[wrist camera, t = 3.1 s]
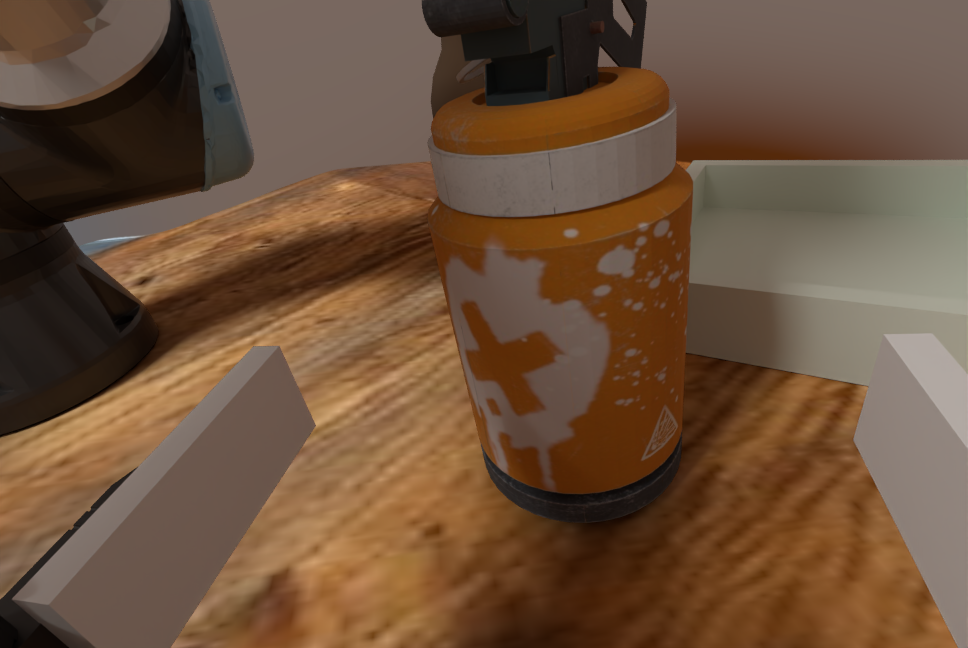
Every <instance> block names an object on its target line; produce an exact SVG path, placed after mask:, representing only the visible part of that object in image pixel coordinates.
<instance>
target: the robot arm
mask: <svg viewBox="0 0 968 648" xmlns="http://www.w3.org/2000/svg"><path fill="white" fill-rule="evenodd" d="M253 162H254V152H253V147H252V143H251V139H250V135H249V131H248V128H247V123H246V120H245V116H244V113H243V109H242V105H241V102H240V98H239V95H238V91H237V88H236V84H235V81H234V77H233V74H232V71H231V67H230V64H229V61H228V58H227V54H226V51H225V48H224V44H223V41H222V38H221V35H220V31H219V28H218V25H217V22H216V19H215V16H214V13H213V10H212V7H211V4H210V2H209V0H0V435H2V434H5V433H8V432H12V431H15V430H18V429H21V428H23V427H26V426H29V425H32V424H34V423H37V422H39V421H42V420H44V419H46V418H49V417H51V416H53V415H55V414H58V413H60V412H62V411H64V410H66V409H68V408H70V407H72V406H74V405H76V404H78V403H80V402H82V401H83V400H85V399H87V398H89V397H91V396H92V395H94V394H96V393H97V392H99V391H101V390H102V389H104V388H105V387H107V386H108V385H110V384H111V383H113V382H114V381H116V380H117V379H119V378H120V377H121V376H123V375H124V374H125V373H127V372H128V371H129V370H130V369H131V368H133V367H134V366H135V365H136V364H137V363H138V362H139V361H140V360H141V359H142V358H143V357H144V356H145V355H146V354H147V353H148V352H149V350H150V349H151V348H152V346H153V345H154V343H155V341H156V339H157V336H158V327H157V325H156V324H155V322H154V320H153V319H152V317H151V315H150V314H149V312H148V310H147V309H146V307H145V306H144V305H143V303H142V302H141V301H140V300H139V299H137V298H136V297H135V296H134V295H133V294H131V293H130V292H129V291H128V290H127V289H125V288H124V287H123V286H122V285H121V284H120V283H118V282H117V281H116V280H115V279H114V278H112V277H111V276H110V275H109V274H108V273H106V272H105V271H104V270H103V269H102V268H101V267H99V266H98V265H97V264H96V263H95V262H93V261H92V260H91V259H90V258H89V257H87V256H86V255H85V254H84V253H83V252H82V251H81V249H80V248H79V247H78V245H77V244H76V243H75V241H74V240H73V238H72V236H71V235H70V233H69V232H68V230H67V229H66V227H65V225H64V224H63V223H64V222H69V221H73V220H75V219H80V218H84V217H88V216H92V215H96V214H101V213H105V212H110V211H114V210H118V209H123V208H127V207H132V206H136V205H141V204H145V203H149V202H154V201H158V200H163V199H167V198H171V197H176V196H180V195H185V194H189V193H193V192H198V191H201V192H204V191H208V190H209V189H211V187H212V186H215V185H219V184H222V183H225V182H228V181H232V180H235V179H239V178H241V177H243V176H245V175H246V174H247V173H248V172H249V171H250V170H251V168H252V166H253ZM315 426H316V425H315V423H314V420H313V418H312V416H311V414H310V412H309V410H308V407H307V405H306V403H305V401H304V399H303V397H302V394H301V392H300V390H299V388H298V386H297V384H296V381H295V379H294V377H293V375H292V373H291V371H290V368H289V366H288V364H287V362H286V360H285V357H284V355H283V353H282V351H281V349H280V347H279V346H253V347H252V349H251V350H250V351H249V352H248V353H247V354H246V355H245V356H244V357H243V358H242V359H241V360H240V361H239V362H238V363H237V364H236V365H235V366H234V367H233V368H232V369H231V370H230V372H229V373H228V374H227V375H226V376H225V377H224V378H223V379H222V380H221V381H220V382H219V383H218V384H217V385H216V386H215V387H214V388H213V389H212V390H211V391H210V392H209V393H208V395H207V396H206V397H205V398H204V399H203V400H202V401H201V402H200V403H199V404H198V405H197V406H196V407H195V408H194V409H193V410H192V411H191V412H190V413H189V414H188V415H187V416H186V417H185V419H184V420H183V421H182V422H181V423H180V424H179V425H178V426H177V427H176V428H175V429H174V430H173V431H172V432H171V433H170V434H169V435H168V436H167V437H166V438H165V439H164V440H163V442H162V443H161V444H160V445H159V446H158V447H157V448H156V449H155V450H154V451H153V452H152V453H151V454H150V455H149V456H148V457H147V458H146V459H145V460H144V461H143V462H142V463H141V465H140V466H139V467H137V468H135V469H134V470H133V471H131V472H130V473H128V474H127V475H126V476H124V477H123V478H121V479H120V480H119V481H117V482H116V483H114V484H113V485H112V486H111V487H110V488H109V489H108V490H107V491H106V492H105V493H104V494H103V495H102V496H101V497H100V498H99V499H98V500H97V501H96V502H95V503H94V504H93V505H92V506H91V510H90V511H89V512H88V511H86V512H85V514H84V515H83V516H82V517H81V518H80V519H79V520H78V521H77V522H76V523H75V524H74V525H73V526H74V528H73V529H72V530H68V531H67V532H66V533H65V534H64V535H63V536H62V537H61V538H60V539H59V540H58V541H57V542H56V543H55V544H54V545H53V546H52V547H51V548H50V549H49V550H48V551H47V553H46V554H45V555H44V556H43V557H42V558H41V559H40V560H39V561H38V562H37V563H36V564H35V565H34V566H33V567H32V568H31V569H30V570H29V571H28V572H27V573H26V574H25V575H24V576H23V577H22V578H21V579H20V580H19V581H18V582H17V583H16V584H15V585H14V586H13V587H12V588H11V589H10V591H9V592H8V593H7V594H6V595H5V596H4V597H3V598H1V599H0V648H170V647H171V646H172V644H173V643H174V641H175V640H176V638H177V637H178V635H179V634H180V632H181V631H182V629H183V628H184V626H185V625H186V623H187V622H188V620H189V618H190V617H191V615H192V614H193V612H194V611H195V609H196V608H197V606H198V605H199V603H200V602H201V600H202V599H203V597H204V596H205V594H206V593H207V591H208V589H209V588H210V586H211V585H212V583H213V582H214V580H215V579H216V577H217V576H218V574H219V573H220V571H221V570H222V568H223V567H224V565H225V564H226V562H227V560H228V559H229V557H230V556H231V554H232V553H233V551H234V550H235V548H236V547H237V545H238V544H239V542H240V541H241V539H242V538H243V536H244V535H245V533H246V531H247V530H248V528H249V527H250V525H251V524H252V522H253V521H254V519H255V518H256V516H257V515H258V513H259V512H260V510H261V509H262V507H263V506H264V504H265V502H266V501H267V499H268V498H269V496H270V495H271V493H272V492H273V490H274V489H275V487H276V486H277V484H278V483H279V481H280V480H281V478H282V477H283V475H284V473H285V472H286V470H287V469H288V467H289V466H290V464H291V463H292V461H293V460H294V458H295V457H296V455H297V454H298V452H299V451H300V449H301V448H302V446H303V444H304V443H305V441H306V440H307V438H308V437H309V435H310V434H311V432H312V431H313V429H314V428H315ZM853 440H854V442H855V444H856V446H857V448H858V450H859V452H860V454H861V456H862V458H863V460H864V462H865V464H866V466H867V468H868V470H869V472H870V474H871V476H872V478H873V480H874V482H875V484H876V486H877V488H878V490H879V492H880V494H881V496H882V498H883V500H884V502H885V504H886V506H887V508H888V510H889V512H890V514H891V516H892V518H893V520H894V522H895V524H896V526H897V528H898V530H899V532H900V534H901V536H902V538H903V540H904V542H905V544H906V545H907V547H908V549H909V551H910V553H911V555H912V557H913V559H914V561H915V563H916V565H917V567H918V569H919V571H920V573H921V575H922V577H923V579H924V581H925V583H926V585H927V587H928V589H929V591H930V593H931V595H932V597H933V599H934V601H935V603H936V605H937V607H938V609H939V611H940V613H941V615H942V617H943V619H944V621H945V623H946V625H947V627H948V629H949V631H950V633H951V635H952V637H953V639H954V641H955V643H956V645H957V647H958V648H968V374H967V373H966V372H965V370H964V369H963V368H962V367H961V366H960V365H959V364H958V362H957V361H956V360H955V359H954V358H953V357H952V356H951V354H950V353H949V352H948V351H947V350H946V349H945V347H944V346H943V345H942V344H941V343H940V342H939V341H938V339H937V338H936V337H935V336H934V335H933V334H932V333H924V334H883V338H882V341H881V345H880V348H879V352H878V355H877V359H876V362H875V366H874V369H873V373H872V376H871V380H870V383H869V387H868V390H867V394H866V397H865V400H864V404H863V407H862V411H861V414H860V418H859V421H858V425H857V428H856V432H855V435H854V439H853Z"/></svg>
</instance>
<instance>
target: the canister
mask: <svg viewBox="0 0 968 648" xmlns="http://www.w3.org/2000/svg"><path fill="white" fill-rule="evenodd" d="M621 1H622V3H623V5H624V6H625V8H626V10H627V12H628V13H629V15H630V17H631V19H632V20H633V30H632V35H631V37H630V36H629V35H628V34H627V33H626V31H625V30H624V29H623V28H622V27H621V26H620V25H619V23H618V22H617V21H616V20H615V19H614V17H613V0H422V9H423V14H424V18H425V21H426V23H427V25H428V27H429V29H430V30H431V31H432V33H434V34H435V35H436V36H438V37H447V36H454V35H461V41H462V46H463V52H464V58H465V61H471V62H470V63H469V64H468V65H466V66H465V67H464V68H463V69H462V70H461V71H460V72H459V73H458V74H457V76H456V78H457V80H458V82H459V83H460V84H462V83H466V82H468V81H470V80H473V79H475V78H476V77H478V76H480V75H482V74H484V75H485V87H484V88H481V89H478V90H475V91H472V92H470V93H467V94H465V95H463V96H461V97H458V98H456V99H454V100H452V101H450V102H448V103H446V104H445V105H443V106H442V107H441V108H440V109H439V110H438V112H437V113H436V115H435V117H434V119H433V121H432V126H431V132H432V136H431V137H430V138H429V140H428V148H429V153H430V158H431V163H432V168H433V172H434V177H435V182H436V187H437V192H438V197H437V198H436V200H435V201H434V203H433V204H432V206H431V207H430V209H429V211H428V214H427V220H428V226H429V230H430V234H431V238H432V242H433V246H434V251H435V255H436V259H437V263H438V267H439V272H440V276H441V280H442V284H443V288H444V292H445V297H446V301H447V305H448V309H449V313H450V318H451V322H452V326H453V330H454V334H455V338H456V343H457V347H458V351H459V355H460V359H461V364H462V368H463V372H464V376H465V380H466V384H467V389H468V393H469V397H470V401H471V405H472V409H473V414H474V418H475V422H476V426H477V430H478V435H479V439H480V442H481V446H482V451H483V455H484V460H485V464H486V468H487V470H488V472H489V475H490V477H491V479H492V480H493V482H494V483H495V485H496V486H497V488H498V489H499V490H500V491H501V492H502V493H503V494H504V495H505V496H506V497H507V498H508V499H510V500H511V501H512V502H514V503H515V504H517V505H518V506H520V507H521V508H523V509H525V510H527V511H529V512H531V513H534V514H536V515H539V516H542V517H546V518H549V519H553V520H559V521H564V522H579V523H589V522H599V521H606V520H610V519H614V518H619V517H622V516H625V515H627V514H630V513H632V512H635V511H637V510H639V509H641V508H642V507H644V506H646V505H647V504H649V503H651V502H652V501H653V500H654V499H656V498H657V497H658V496H659V495H660V494H662V493H663V492H664V490H665V489H666V488H667V487H668V485H669V484H670V483H671V482H672V480H673V478H674V476H675V474H676V472H677V470H678V467H679V463H680V459H681V444H682V422H683V400H684V378H685V356H686V334H687V312H688V290H689V268H690V246H691V224H692V201H693V180H692V178H691V176H690V174H689V173H688V172H687V171H685V170H684V169H683V168H682V167H681V166H680V165H678V164H677V163H676V103H675V101H674V100H673V99H672V98H670V97H669V89H668V86H667V84H666V83H665V81H664V80H663V79H662V78H661V76H659V75H658V74H656V73H654V72H652V71H650V70H646V69H641V60H642V48H643V39H644V28H645V18H646V6H647V2H646V0H621ZM600 46H601V47H602V49H603V50H604V51H605V52H606V53H607V54H608V55H609V56H610V57H611V58H612V60H613V61H614V62H615V63H616V64H617V65H618V66H619V67H598V56H599V47H600ZM489 58H490V59H491V62H489V63H487V64H485V65H484V66H483V67H481V68H480V69H478V70H476V71H474V72H472V73H470V74H468V73H469V72H471V71H472V70H473V69H474V68H475V67H477V66H478V65H479V64H481V63H482V62H483V61H485V60H486V59H489ZM472 60H473V61H472Z"/></svg>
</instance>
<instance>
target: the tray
mask: <svg viewBox="0 0 968 648" xmlns="http://www.w3.org/2000/svg"><path fill="white" fill-rule="evenodd" d="M686 171H687V172H688V173H689V174H690V176H691V178H692V180H693V201H692V224H691V246H690V268H689V290H688V312H687V334H686V353H691V354H696V355H702V356H707V357H713V358H718V359H723V360H729V361H734V362H740V363H745V364H751V365H756V366H762V367H767V368H772V369H778V370H783V371H789V372H794V373H800V374H805V375H811V376H816V377H822V378H827V379H832V380H838V381H843V382H849V383H854V384H860V385H865V386H869V383H870V380H871V376H872V373H873V369H874V366H875V362H876V359H877V355H878V352H879V348H880V345H881V341H882V338H883V334H924V333H932V334H933V335H934V336H935V337H936V338H937V339H938V341H939V342H940V343H941V344H942V345H943V346H944V347H945V349H946V350H947V351H948V352H949V353H950V354H951V356H952V357H953V358H954V359H955V360H956V361H957V362H958V364H959V365H960V366H961V367H962V368H963V369H964V370H965V372H966V373H967V374H968V160H718V161H717V160H713V161H712V160H694V161H693V162H692V163H691V164H690V166H689V167H688V168H687V169H686Z"/></svg>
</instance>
